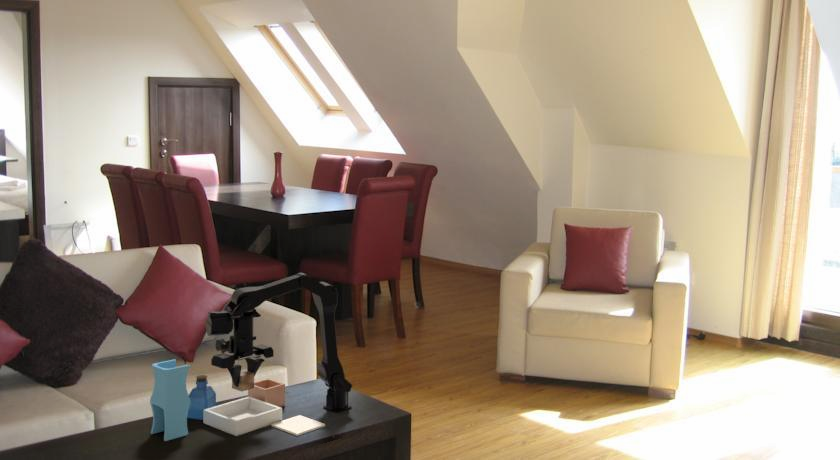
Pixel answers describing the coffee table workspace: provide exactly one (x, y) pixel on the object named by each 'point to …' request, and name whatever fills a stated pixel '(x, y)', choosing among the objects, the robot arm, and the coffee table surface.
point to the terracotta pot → (269, 392)
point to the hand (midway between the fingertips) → (243, 384)
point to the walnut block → (245, 381)
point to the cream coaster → (298, 425)
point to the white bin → (242, 415)
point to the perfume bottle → (201, 398)
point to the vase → (170, 400)
